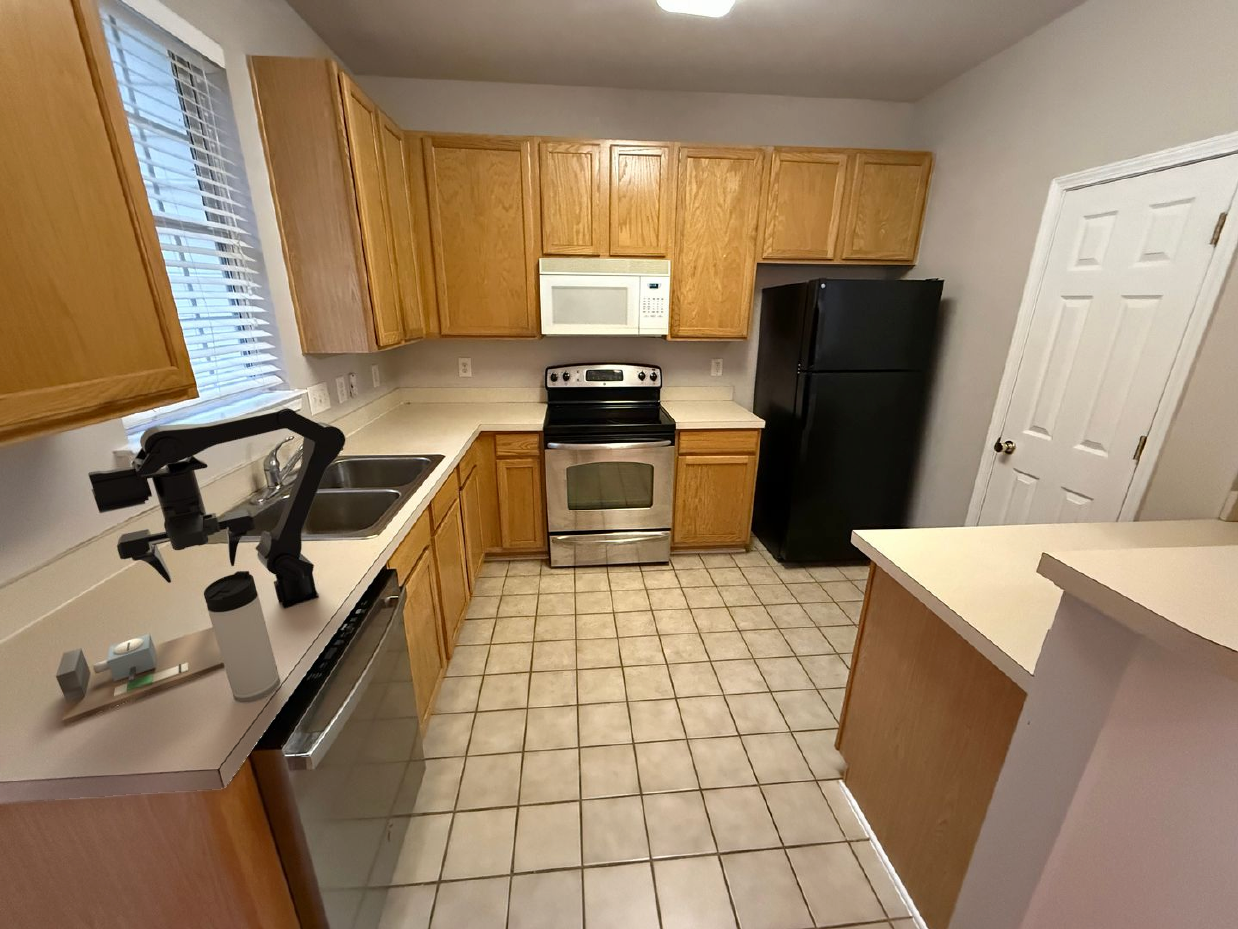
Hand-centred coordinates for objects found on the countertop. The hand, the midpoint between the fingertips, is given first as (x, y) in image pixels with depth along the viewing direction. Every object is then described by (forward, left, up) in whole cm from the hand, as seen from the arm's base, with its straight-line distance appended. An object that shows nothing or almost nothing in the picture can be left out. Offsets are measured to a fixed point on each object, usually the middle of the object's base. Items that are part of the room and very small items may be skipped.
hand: (202, 573), depth 93 cm
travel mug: (-4, +25, -12) cm, 28 cm away
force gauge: (+12, +9, -11) cm, 18 cm away
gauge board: (+8, +8, -12) cm, 16 cm away
